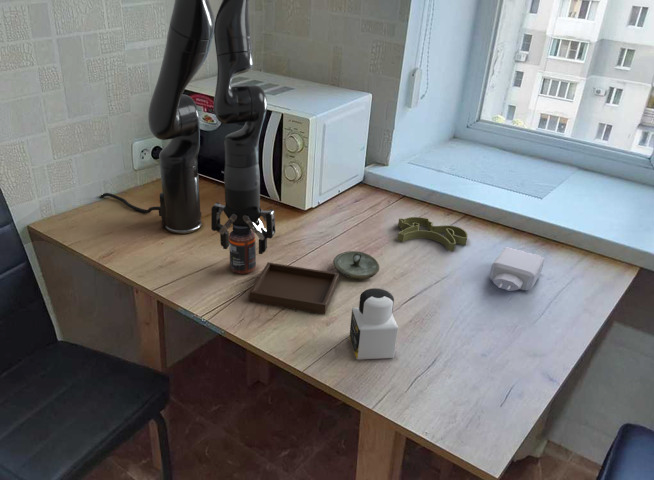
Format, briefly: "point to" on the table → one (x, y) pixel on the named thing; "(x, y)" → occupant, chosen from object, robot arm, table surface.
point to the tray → (294, 288)
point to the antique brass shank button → (356, 265)
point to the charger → (516, 269)
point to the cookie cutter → (431, 232)
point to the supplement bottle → (242, 250)
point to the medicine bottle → (374, 325)
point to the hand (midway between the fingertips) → (243, 250)
